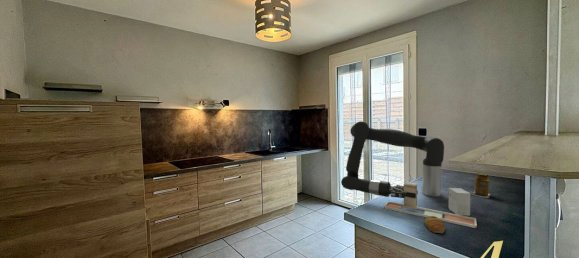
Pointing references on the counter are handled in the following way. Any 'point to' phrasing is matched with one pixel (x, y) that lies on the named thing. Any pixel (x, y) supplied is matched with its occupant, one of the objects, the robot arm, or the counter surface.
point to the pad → (433, 214)
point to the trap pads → (444, 218)
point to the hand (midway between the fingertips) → (416, 194)
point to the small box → (459, 201)
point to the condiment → (481, 185)
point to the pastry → (434, 224)
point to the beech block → (407, 200)
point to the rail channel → (435, 212)
